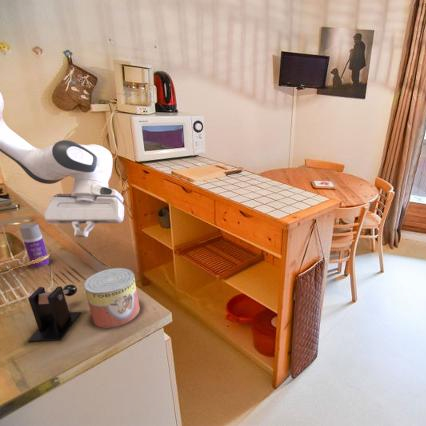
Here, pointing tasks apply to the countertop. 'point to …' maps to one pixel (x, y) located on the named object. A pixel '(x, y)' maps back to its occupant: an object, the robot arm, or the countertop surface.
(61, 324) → the bracket
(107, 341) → the countertop surface
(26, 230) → the container
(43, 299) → the lever
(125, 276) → the canned food
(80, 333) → the countertop surface
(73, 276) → the countertop surface
